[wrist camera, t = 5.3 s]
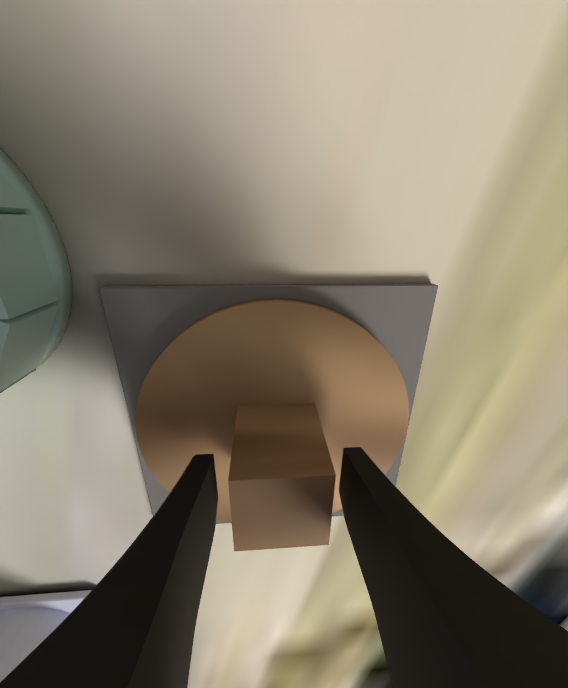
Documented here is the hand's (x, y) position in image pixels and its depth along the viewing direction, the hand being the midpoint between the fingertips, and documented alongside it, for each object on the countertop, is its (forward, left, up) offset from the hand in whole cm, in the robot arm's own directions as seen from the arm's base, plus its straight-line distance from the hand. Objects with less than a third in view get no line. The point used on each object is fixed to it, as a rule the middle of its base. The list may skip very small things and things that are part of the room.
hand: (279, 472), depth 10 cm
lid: (0, 0, -3) cm, 3 cm away
